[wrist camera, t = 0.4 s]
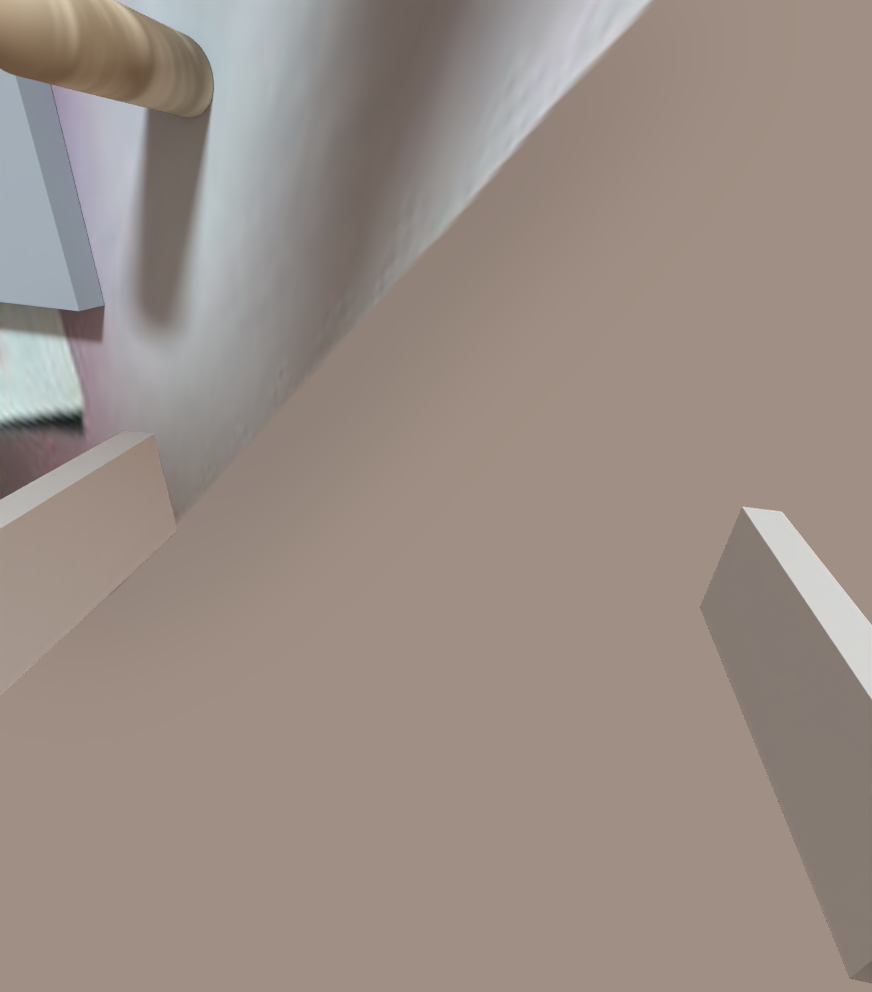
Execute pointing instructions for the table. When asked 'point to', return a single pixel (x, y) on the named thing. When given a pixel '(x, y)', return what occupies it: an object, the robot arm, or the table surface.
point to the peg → (105, 53)
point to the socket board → (40, 206)
